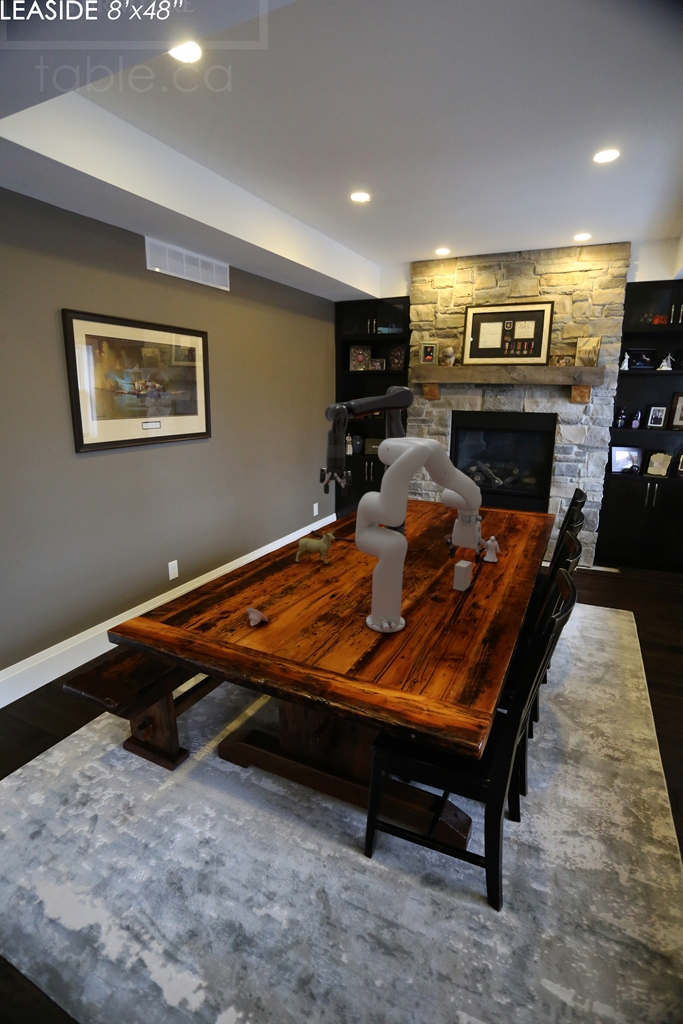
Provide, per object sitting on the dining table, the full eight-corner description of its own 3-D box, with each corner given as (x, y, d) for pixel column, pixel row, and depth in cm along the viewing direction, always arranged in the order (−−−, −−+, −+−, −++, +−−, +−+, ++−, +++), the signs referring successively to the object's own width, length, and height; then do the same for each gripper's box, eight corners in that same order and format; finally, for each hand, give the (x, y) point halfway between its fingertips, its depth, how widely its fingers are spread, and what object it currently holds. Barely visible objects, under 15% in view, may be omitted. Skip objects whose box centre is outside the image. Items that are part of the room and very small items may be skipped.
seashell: (251, 634, 162) (235, 615, 161) (262, 623, 165) (246, 604, 164) (262, 630, 156) (245, 610, 155) (273, 618, 159) (257, 599, 158)
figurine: (481, 562, 222) (483, 536, 219) (482, 556, 230) (484, 531, 227) (499, 564, 220) (501, 538, 217) (499, 558, 228) (501, 533, 225)
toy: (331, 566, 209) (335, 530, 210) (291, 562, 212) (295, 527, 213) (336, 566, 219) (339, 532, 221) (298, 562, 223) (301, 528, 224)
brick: (470, 585, 196) (472, 562, 193) (463, 591, 190) (465, 567, 188) (459, 583, 198) (461, 560, 196) (452, 588, 192) (454, 564, 190)
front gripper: (493, 519, 186) (490, 562, 190) (449, 512, 195) (447, 553, 199) (487, 523, 180) (483, 568, 184) (442, 516, 189) (439, 559, 193)
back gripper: (355, 456, 200) (354, 495, 204) (326, 453, 207) (326, 491, 211) (345, 458, 194) (344, 499, 197) (316, 454, 201) (315, 494, 205)
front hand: (464, 560), depth 192 cm, fingers open, 9 cm apart
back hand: (335, 495), depth 204 cm, fingers open, 8 cm apart
